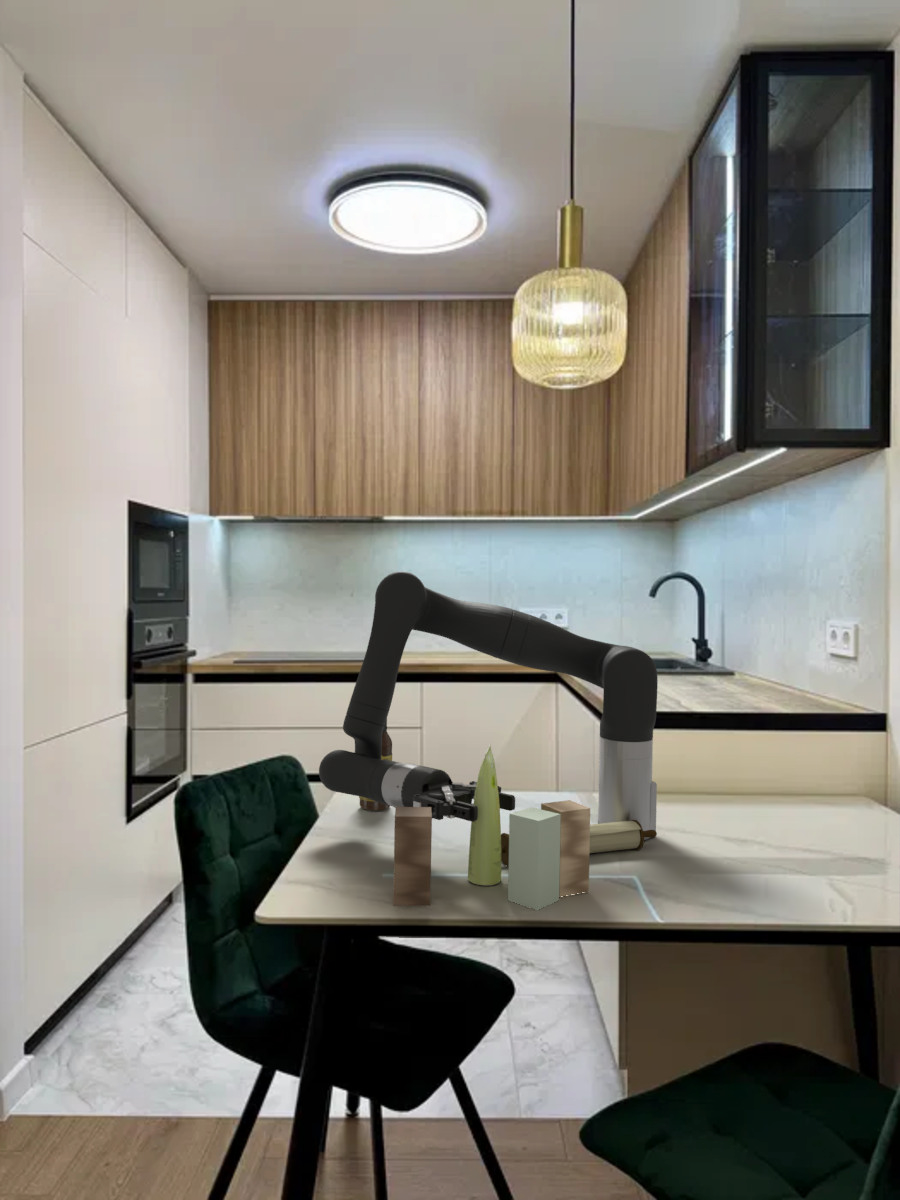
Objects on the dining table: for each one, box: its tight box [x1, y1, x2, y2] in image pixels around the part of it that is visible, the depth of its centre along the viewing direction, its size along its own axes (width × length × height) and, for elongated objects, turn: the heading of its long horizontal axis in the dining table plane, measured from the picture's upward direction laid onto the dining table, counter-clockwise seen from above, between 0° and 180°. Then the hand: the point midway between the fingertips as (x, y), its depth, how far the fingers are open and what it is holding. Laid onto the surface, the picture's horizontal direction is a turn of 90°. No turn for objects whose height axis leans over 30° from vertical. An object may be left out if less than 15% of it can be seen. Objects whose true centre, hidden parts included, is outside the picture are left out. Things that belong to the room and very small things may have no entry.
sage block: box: [507, 806, 561, 911], centre depth 113 cm, size 5×5×12 cm
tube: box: [467, 744, 502, 887], centre depth 120 cm, size 6×5×20 cm
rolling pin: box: [501, 820, 658, 867], centre depth 133 cm, size 32×6×5 cm, turn 112°
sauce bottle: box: [358, 718, 393, 812], centre depth 160 cm, size 6×6×20 cm
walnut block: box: [392, 807, 433, 906], centre depth 113 cm, size 5×5×12 cm
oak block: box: [540, 799, 591, 897], centre depth 117 cm, size 5×5×12 cm
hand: (495, 808), depth 119 cm, fingers open, 8 cm apart
